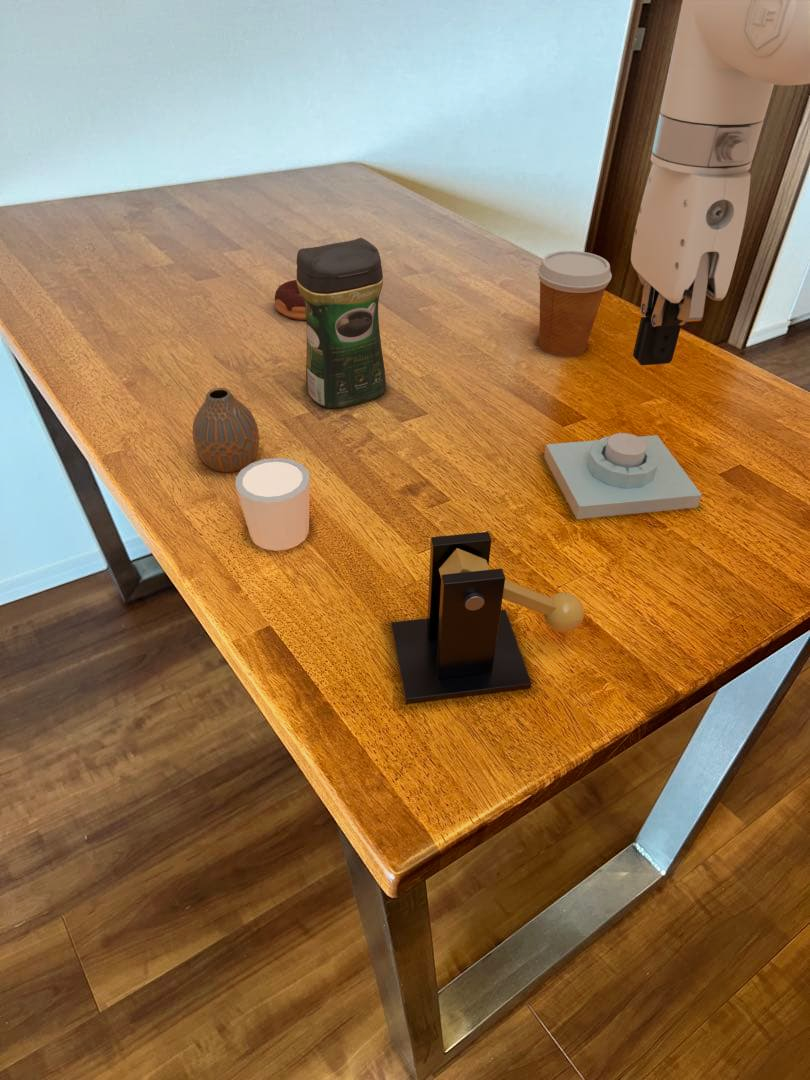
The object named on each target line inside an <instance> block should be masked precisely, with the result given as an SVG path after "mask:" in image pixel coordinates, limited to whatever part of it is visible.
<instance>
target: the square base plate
mask: <svg viewBox="0 0 810 1080" xmlns="http://www.w3.org/2000/svg"><path fill="white" fill-rule="evenodd" d="M609 437H610V436H603V437H601V438H600V439H595V440H582V441H580V440H579V441H570V442H558V443H546V444H545V449H544V456H543V458H544V460H545V462H546V464H547V466H548V468H549V470H550V472H551V474H552V476H553V478H554V479H555V482H556V483H557V486H558V487H559V489H560V491H561V492H562V494H563V496H564V498H565V500H566V502H567V503H568V506H569V508H570V509H571V512H572V513H573V516H574V517H575V519H576V520H582V519H592V518H601V517H613V516H622V515H623V516H624V515H633V514H635V515H636V514H645V513H655V512H664V511H666V512H667V511H673V510H684V509H694V508H698V507H699V505H700V501H701V499H702V497H703V494H702V493H701V492H700V490H699V489H698V487H697V486H696V484H695V483H694V482H693V480H692V479H691V478H690V477H689V476H688V474H687V473H686V471H685V470H684V469H683V467H682V466H681V465H680V464H679V462H678V461H677V459H676V458H675V456H674V455H673V454H672V452H671V451H670V450H669V448H668V447H667V446H666V444H665V443H664V442H663V440H662V439H661V438H660V437H659V435H658V434H654V435H642V436H641V435H640V436H639V437H640V438H642V439H643V440H644V441H645V442H646V444H647V450H646V453H645V457H644V460H643V463H642V464H641V465H640V466H638V467H630V468H626V467H621V466H616V465H614V464H612V463H610V462H609V461H607V460H606V458H605V456H604V453H605V449H606V444H607V440H608V438H609Z"/></svg>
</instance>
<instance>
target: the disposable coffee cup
mask: <svg viewBox="0 0 810 1080" xmlns="http://www.w3.org/2000/svg"><path fill="white" fill-rule="evenodd" d="M537 275H538V280H539V332H538V333H539V336H538V338H539V339H538V343H539V344H538V345H539V347H540V349H541V350H542V351H544V352H545V353H547V354H549V355H552V356H557V357H576V356H579V355H581V354H583V353H584V352H585V350H586V348H587V345H588V342H589V339H590V336H591V333H592V330H593V328H594V324H595V320H596V318H597V315H598V311H599V309H600V305H601V302H602V300H603V296H604V294H605V290H606V288H607V286H608V285H609V283H610V282H611V280H612V277H613V274H612V272H611V265H610V263H609V261H608V260H607V259H605V258H604V257H602V256H600V255H597V254H595V253H591V252H587V251H580V250H559V251H554V252H551V253H548V254H547V255H545V256H544V257H543V258H542V261H541V263H540V265H539V266H538V267H537Z"/></svg>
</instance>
